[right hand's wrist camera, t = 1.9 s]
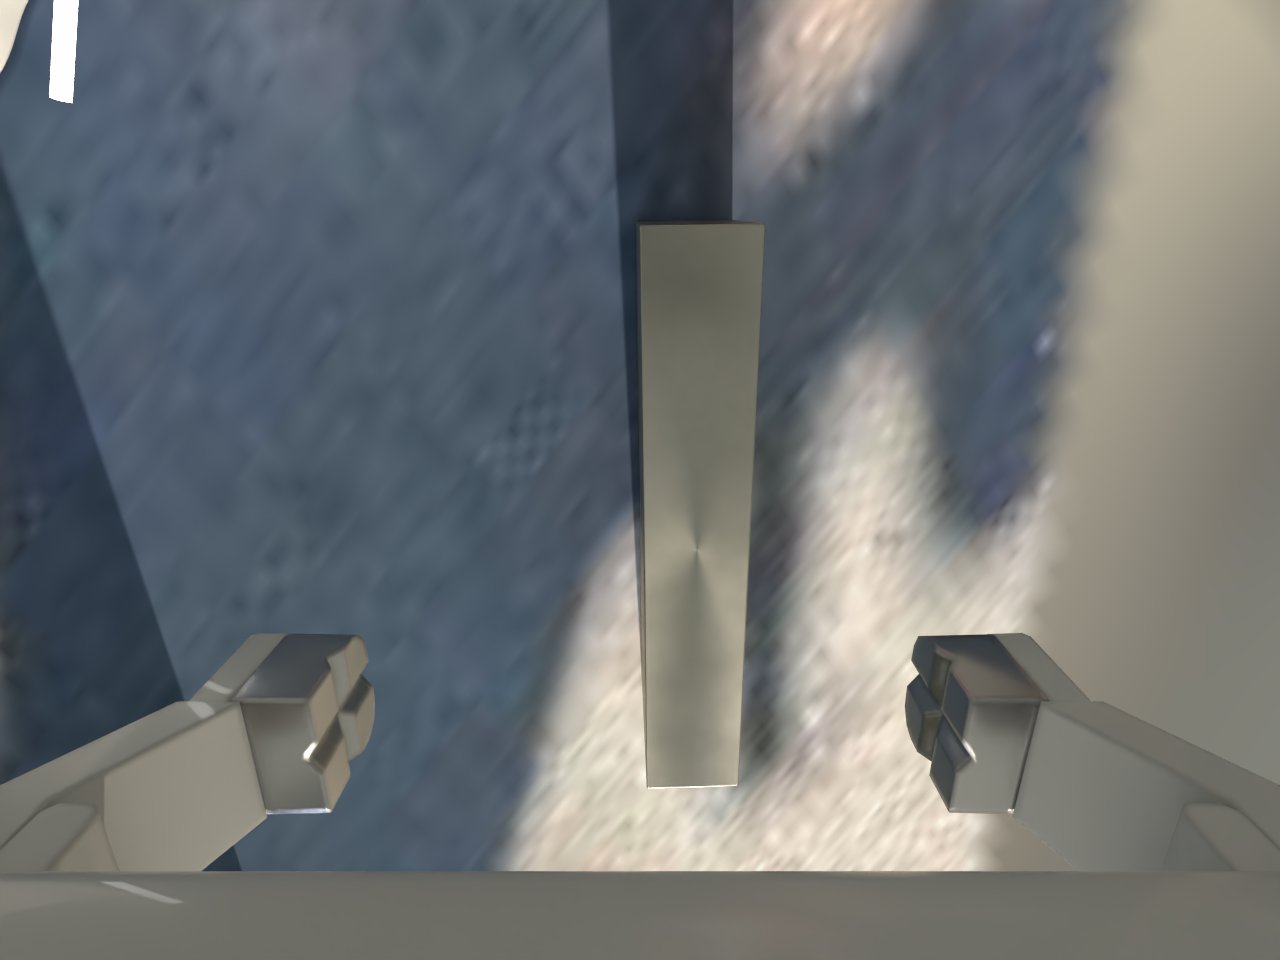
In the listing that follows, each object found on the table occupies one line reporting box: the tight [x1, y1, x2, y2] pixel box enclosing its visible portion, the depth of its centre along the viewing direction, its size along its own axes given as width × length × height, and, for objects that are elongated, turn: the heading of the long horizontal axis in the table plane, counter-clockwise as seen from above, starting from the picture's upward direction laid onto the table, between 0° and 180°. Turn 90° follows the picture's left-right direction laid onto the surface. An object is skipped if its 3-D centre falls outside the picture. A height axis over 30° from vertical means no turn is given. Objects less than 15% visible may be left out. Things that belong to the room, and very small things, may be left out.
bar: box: [635, 220, 765, 788], centre depth 34 cm, size 26×4×8 cm, turn 1°
